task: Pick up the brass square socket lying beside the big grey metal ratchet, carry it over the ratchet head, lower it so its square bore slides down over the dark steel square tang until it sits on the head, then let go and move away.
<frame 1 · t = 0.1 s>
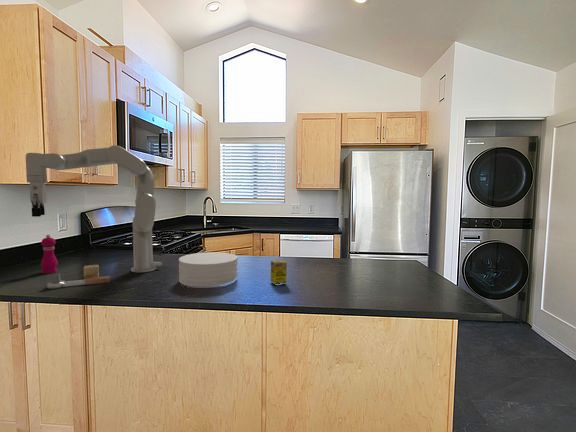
hand: (38, 215, 150), 31 cm above the counter, tool pointing down, fingers open, 9 cm apart
pepper mill: (49, 272, 167), on the counter
supplement box: (278, 284, 152), on the counter
socket: (91, 278, 156), on the counter
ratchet: (77, 284, 146), on the counter
plate stack: (208, 280, 156), on the counter
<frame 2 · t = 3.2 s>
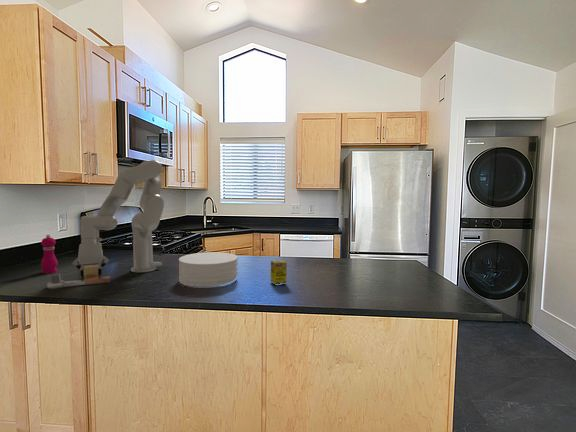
hand: (91, 276, 156), 1 cm above the counter, tool pointing down, fingers closed on socket, 6 cm apart
socket: (91, 278, 156), on the counter, touching gripper
everything else where it was.
when the fingers open (3 cm above the counter, at t = 8.9 s): socket stays where it is, resting on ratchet.
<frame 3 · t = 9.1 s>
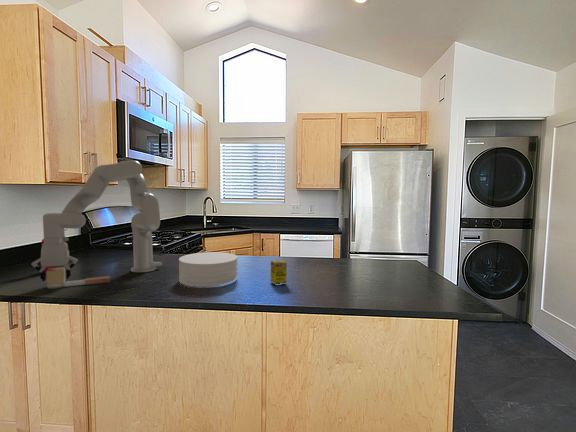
hand: (56, 279, 142), 4 cm above the counter, tool pointing down, fingers open, 8 cm apart
socket: (56, 282, 142), point 2 cm above the counter, touching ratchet
everything else where it was.
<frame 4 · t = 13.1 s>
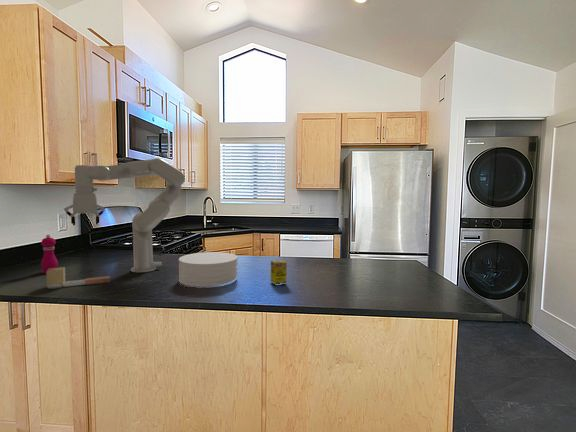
hand: (85, 224, 158), 26 cm above the counter, tool pointing down, fingers open, 9 cm apart
nothing on the counter moved.
at the end: socket 0.1 cm from the target spot on the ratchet, point 2.0 cm above the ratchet's base; socket tilted 0°; the gripper is holding nothing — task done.
